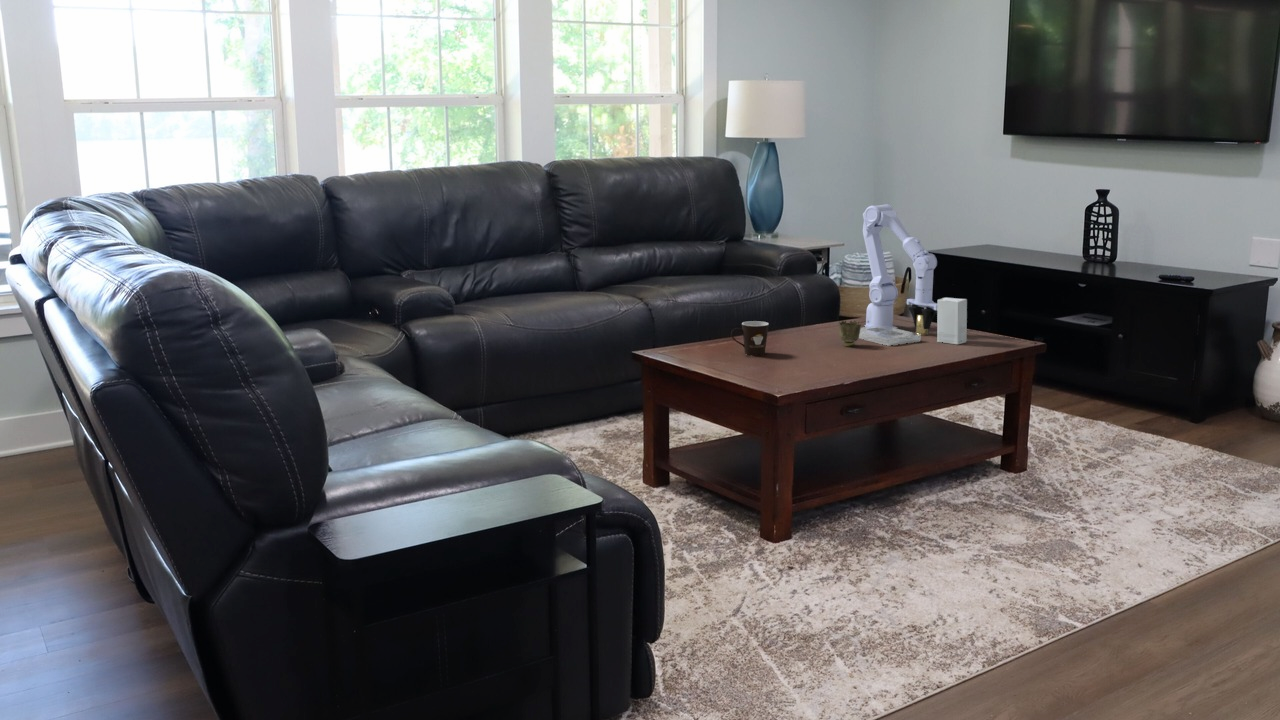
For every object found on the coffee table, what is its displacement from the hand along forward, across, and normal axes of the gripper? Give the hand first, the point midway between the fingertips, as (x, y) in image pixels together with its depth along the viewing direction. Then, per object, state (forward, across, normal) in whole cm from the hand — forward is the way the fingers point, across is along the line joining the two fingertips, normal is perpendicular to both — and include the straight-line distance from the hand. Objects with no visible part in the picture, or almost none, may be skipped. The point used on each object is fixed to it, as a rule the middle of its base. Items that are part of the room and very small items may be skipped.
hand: (922, 327), depth 382 cm
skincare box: (+3, -15, +1) cm, 15 cm away
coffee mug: (+3, +5, +69) cm, 69 cm away
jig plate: (+2, +1, +16) cm, 16 cm away
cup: (+3, -2, +34) cm, 34 cm away
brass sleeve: (+2, 0, 0) cm, 2 cm away
